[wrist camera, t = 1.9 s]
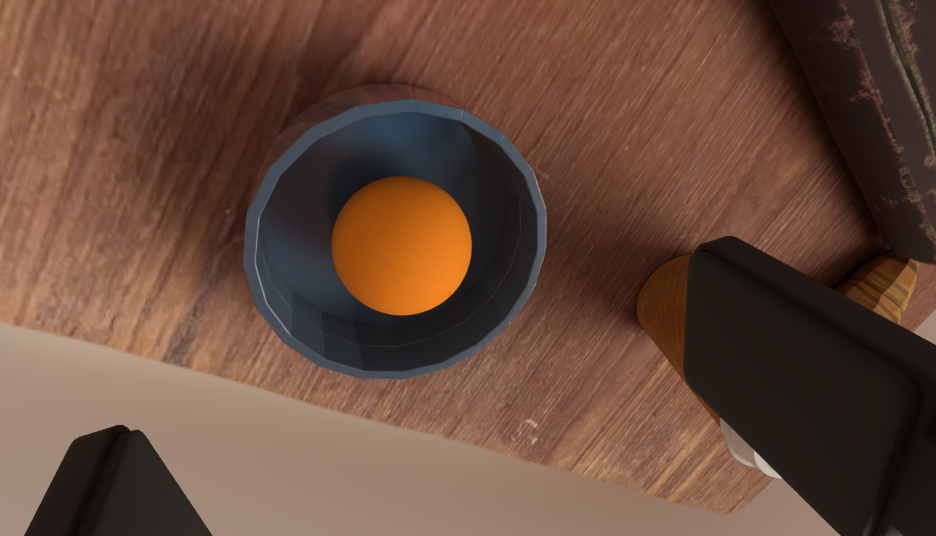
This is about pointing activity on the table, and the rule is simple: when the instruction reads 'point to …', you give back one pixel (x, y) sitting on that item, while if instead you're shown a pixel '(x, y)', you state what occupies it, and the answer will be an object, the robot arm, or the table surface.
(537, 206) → the fruit bowl
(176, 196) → the table surface
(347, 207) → the orange
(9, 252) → the table surface
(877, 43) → the diary
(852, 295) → the croissant
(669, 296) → the disposable coffee cup
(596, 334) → the table surface
